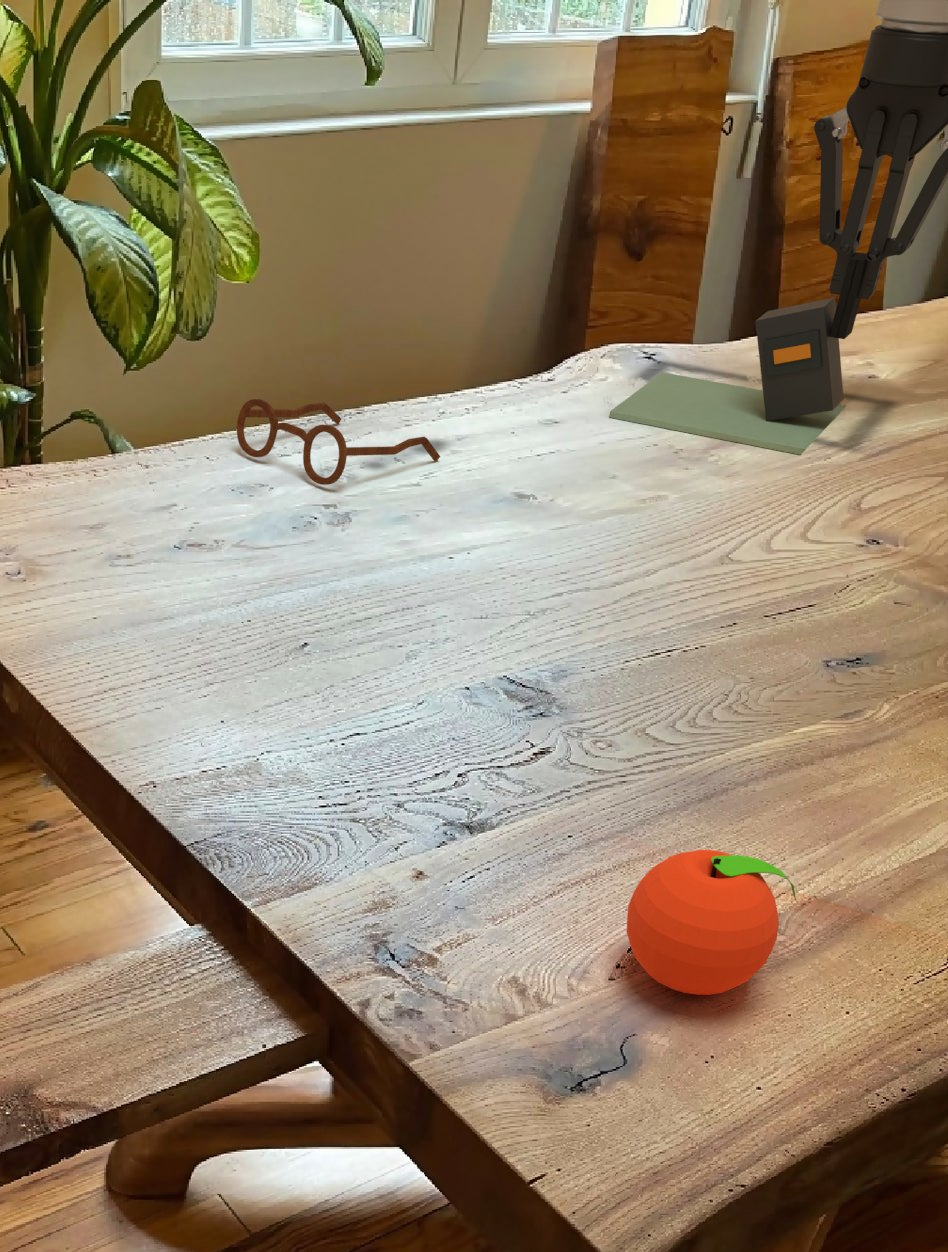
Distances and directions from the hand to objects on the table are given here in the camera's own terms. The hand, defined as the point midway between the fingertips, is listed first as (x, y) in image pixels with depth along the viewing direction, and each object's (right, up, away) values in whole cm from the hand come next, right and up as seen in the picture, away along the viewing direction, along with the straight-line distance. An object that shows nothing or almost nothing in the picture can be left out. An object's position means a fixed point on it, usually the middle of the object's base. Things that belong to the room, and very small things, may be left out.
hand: (840, 334), depth 132 cm
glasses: (-45, -12, -3) cm, 47 cm away
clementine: (-32, -58, -60) cm, 89 cm away
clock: (-1, -5, +5) cm, 7 cm away
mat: (-6, -5, +8) cm, 11 cm away
